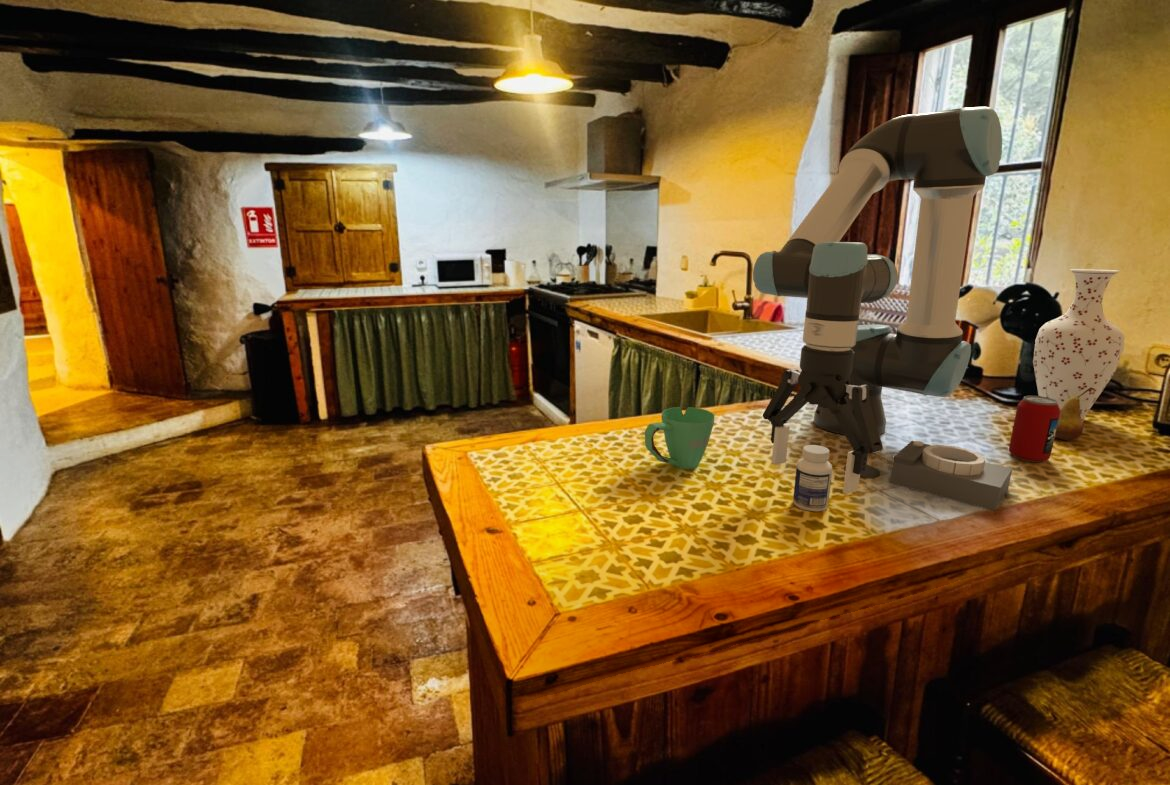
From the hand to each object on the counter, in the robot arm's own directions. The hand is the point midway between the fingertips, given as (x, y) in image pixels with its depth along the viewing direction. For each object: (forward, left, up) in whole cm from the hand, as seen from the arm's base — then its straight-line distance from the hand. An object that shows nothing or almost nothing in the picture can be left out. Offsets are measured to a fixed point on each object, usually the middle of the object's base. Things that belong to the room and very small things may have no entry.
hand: (812, 476), depth 96 cm
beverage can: (+9, +55, -5) cm, 56 cm away
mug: (-24, -8, -5) cm, 26 cm away
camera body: (+8, +27, -5) cm, 29 cm away
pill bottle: (0, 0, -5) cm, 5 cm away
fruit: (+8, +74, -5) cm, 75 cm away
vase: (+1, +92, -5) cm, 92 cm away
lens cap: (-4, +20, -5) cm, 21 cm away
